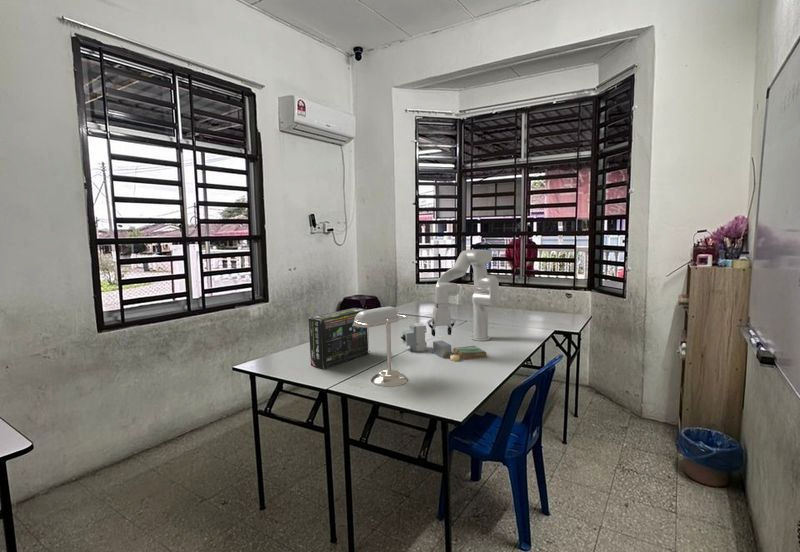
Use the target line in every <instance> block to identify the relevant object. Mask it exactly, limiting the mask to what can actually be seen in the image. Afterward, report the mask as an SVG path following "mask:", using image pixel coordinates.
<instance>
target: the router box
mask: <svg viewBox="0 0 800 552" xmlns="http://www.w3.org/2000/svg"><path fill="white" fill-rule="evenodd" d="M365 310H368V309H367V308H361V307H352V308H351V307H350V308H347V309H343V310H341V309H340V310H338V311H333V312H328V313H324V314H318V315H314V316H310V317H308V318H307V319H308V333H309V334H308V335H309V336H308V337H309V338H308V339H309V353H310V366H312V367H315V368H317V369H321V370H322V369H323V370H325V369H328V368H330V367H334V366H337V365H340V364H342V363H345V362H348V361H351V360H354V359H357V358H360V357H362V356H365V355H368V354H369V353H370V352H368V349H369V348H368V332H369V331H368V328H363V327H357V326H353V324H354V320H355V317H356V315H357V314H358V313H359V312H361V311H365Z"/></svg>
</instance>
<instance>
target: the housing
mask: <svg viewBox="0 0 800 552" xmlns="http://www.w3.org/2000/svg"><path fill="white" fill-rule="evenodd" d="M432 353H433V354H434V355H435V356H437V357H439V358H441V359H446V358H450V355H452V344H450V343H448V342H446V341H445V340H435V341H432Z"/></svg>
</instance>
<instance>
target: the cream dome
mask: <svg viewBox="0 0 800 552" xmlns="http://www.w3.org/2000/svg"><path fill="white" fill-rule="evenodd" d="M449 358H450V359H449V360H450V361H451V362H459V361H460V357H459V355H456V354H451V355H450V357H449Z"/></svg>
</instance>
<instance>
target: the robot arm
mask: <svg viewBox="0 0 800 552" xmlns="http://www.w3.org/2000/svg"><path fill="white" fill-rule="evenodd" d="M492 260H493V253H492V251H491V250H490V249H467V250H462V251H461V252H460V253H459V256H458V257H457V259H456V261H455V263H454V264H453V266H452V267H451V268H449V269H447V270H446V271H445V272H444V273H442V274H441V276H440V277H439V278H438V280H437V282H436V285H435V291H434V293H435V294H434V296H435V297H434V301H435V302H434V304H435V305H434V307H433V310H432V315H431V319H429V320H427V322H426V324H427V325H428V327H429V328H430V329H431V330H430V331H431V336H433V337H435V336H436V328H437V327H442V326H443V327H444V326H447V335H448V336H452V329H453V327H454V326H455V324H456V322H457V320H456V319H454V318H452V316H451V310H450V306H451V303H450V302H449V297H455V296H457V295H458V294H459V293H460V286H459V284H458V283H454V282H452V281H453V280H456V279H459V278H461V277H464V276H465V275H466V274H467V272H468V270H469V268H470V267H471V266H472V270H473V272H472V273H473V287H474V288H475V289H478V290H476V291H474V292H473V294H472V295H471V302H472V307H473V309H472V310H473V311H472V312H473V313H472V314H473V315H472V316H473V319H472V321H473V322H472V323H473V328H472V329H473V330H472V335H471V336H470V339H471V340H473V341H477V342H478V341H479V342H481V341H482V342H483V341H484V342H485V341H489V340H491V336H490V335H489V310H488V309H487V307H489V308H495V307H497V306H499V302H500V287H499V285H500V284H499V279H498V277H497V276H496V275H489V274H488V270H487V269H488V268H487V264H490V263H491V262H492ZM485 290H486V291H485Z"/></svg>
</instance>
